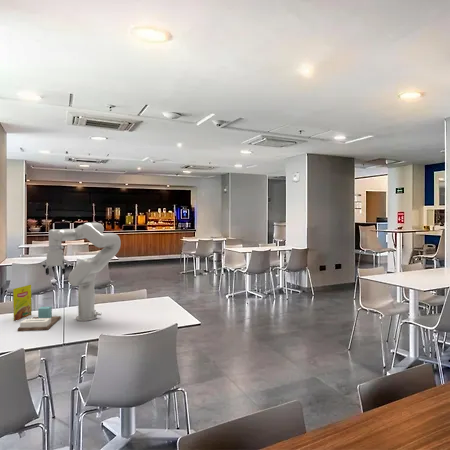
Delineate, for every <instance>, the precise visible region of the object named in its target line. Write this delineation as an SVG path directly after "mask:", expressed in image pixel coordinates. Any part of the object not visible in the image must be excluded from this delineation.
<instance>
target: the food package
mask: <svg viewBox="0 0 450 450" xmlns="http://www.w3.org/2000/svg"><path fill="white" fill-rule="evenodd" d="M12 291H13V293H12V294H13V295H12V296H13V297H12V299H13V300H12V302H13V322H16V320H17V321H20V320H22V319H24V318H25V319H26V318H27V317H30V316H32V284H27V285H24V286H20V287H16V288H13V290H12Z"/></svg>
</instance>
